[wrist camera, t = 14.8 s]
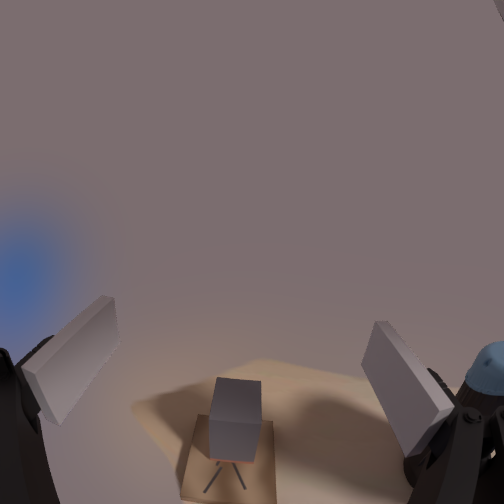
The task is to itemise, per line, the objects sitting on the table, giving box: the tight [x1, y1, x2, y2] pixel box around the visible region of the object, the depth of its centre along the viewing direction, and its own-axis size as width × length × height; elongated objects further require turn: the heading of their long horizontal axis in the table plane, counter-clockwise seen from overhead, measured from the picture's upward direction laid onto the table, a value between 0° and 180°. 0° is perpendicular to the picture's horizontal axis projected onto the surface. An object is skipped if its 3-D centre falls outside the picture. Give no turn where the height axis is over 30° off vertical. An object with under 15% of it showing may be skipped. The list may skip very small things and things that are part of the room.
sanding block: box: [209, 377, 262, 464], centre depth 32 cm, size 6×8×10 cm
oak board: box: [180, 414, 277, 504], centre depth 30 cm, size 12×16×2 cm
